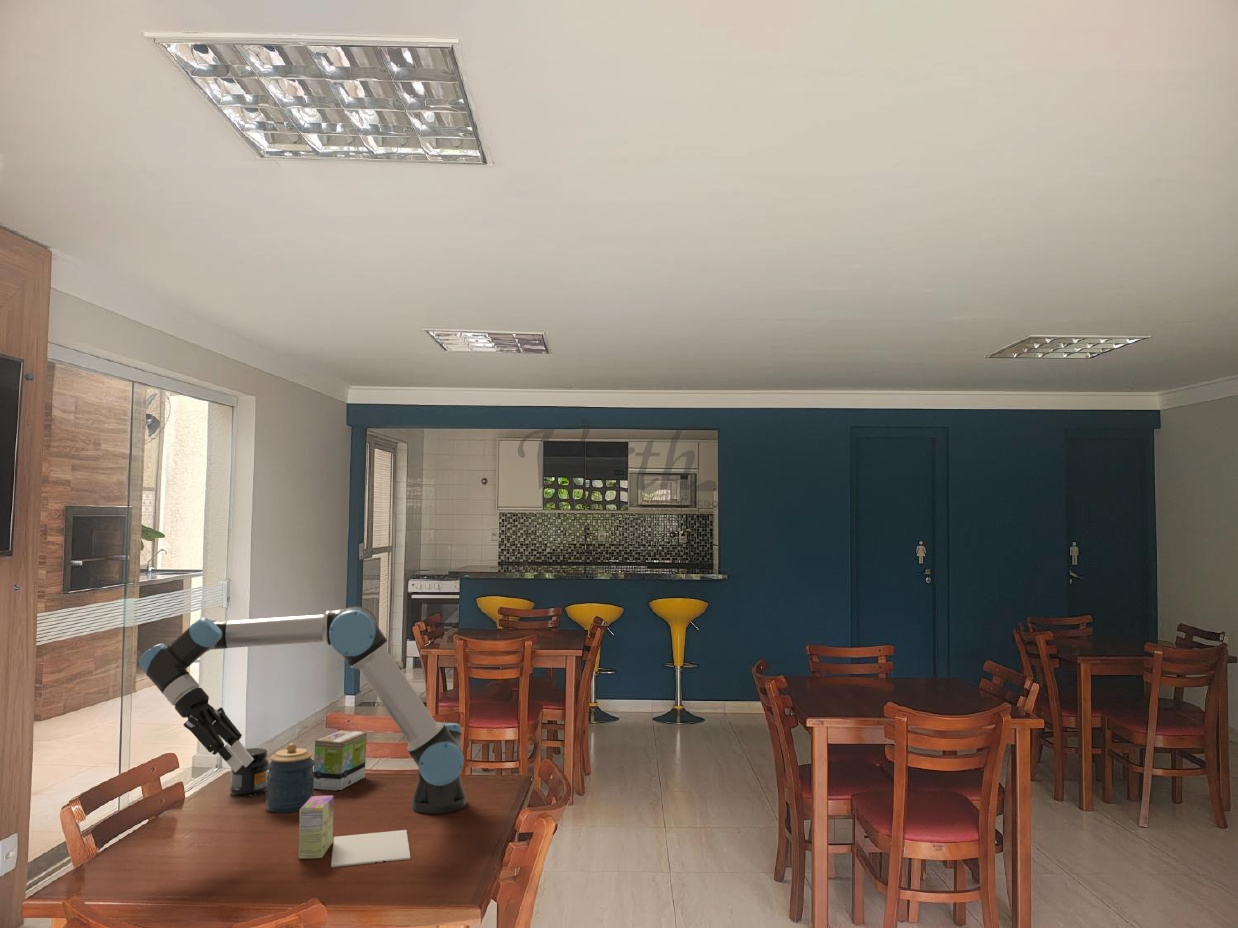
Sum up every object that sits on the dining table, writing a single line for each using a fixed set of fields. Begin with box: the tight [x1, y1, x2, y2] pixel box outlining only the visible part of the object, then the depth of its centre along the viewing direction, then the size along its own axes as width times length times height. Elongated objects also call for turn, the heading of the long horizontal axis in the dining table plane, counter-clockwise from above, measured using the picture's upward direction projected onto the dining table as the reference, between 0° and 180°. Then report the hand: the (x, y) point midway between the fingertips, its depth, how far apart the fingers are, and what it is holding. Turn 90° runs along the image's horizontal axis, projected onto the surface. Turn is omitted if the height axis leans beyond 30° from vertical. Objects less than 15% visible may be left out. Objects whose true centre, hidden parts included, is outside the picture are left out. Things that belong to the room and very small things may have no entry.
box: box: [298, 795, 334, 860], centre depth 209 cm, size 10×6×12 cm, turn 5°
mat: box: [330, 829, 411, 868], centre depth 210 cm, size 18×20×1 cm
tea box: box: [313, 730, 368, 791], centre depth 266 cm, size 15×10×15 cm
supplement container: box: [229, 747, 270, 797], centre depth 257 cm, size 10×10×12 cm
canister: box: [265, 742, 315, 814], centre depth 244 cm, size 13×13×18 cm
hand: (244, 765), depth 213 cm, fingers open, 4 cm apart
